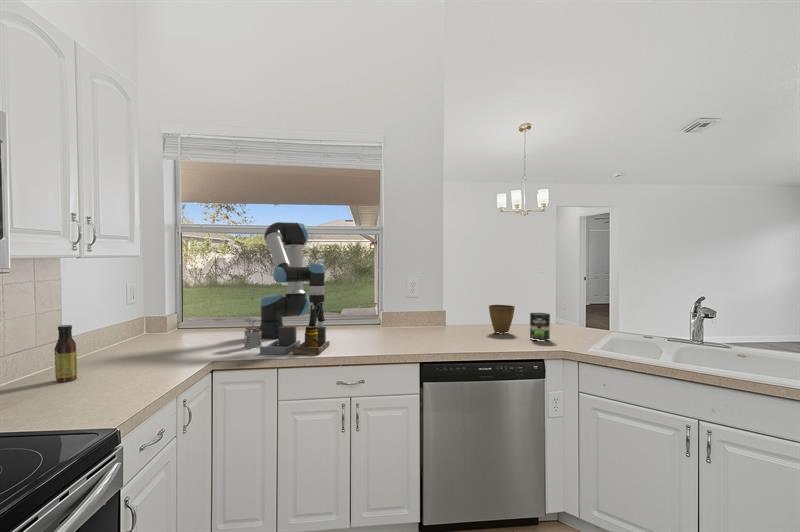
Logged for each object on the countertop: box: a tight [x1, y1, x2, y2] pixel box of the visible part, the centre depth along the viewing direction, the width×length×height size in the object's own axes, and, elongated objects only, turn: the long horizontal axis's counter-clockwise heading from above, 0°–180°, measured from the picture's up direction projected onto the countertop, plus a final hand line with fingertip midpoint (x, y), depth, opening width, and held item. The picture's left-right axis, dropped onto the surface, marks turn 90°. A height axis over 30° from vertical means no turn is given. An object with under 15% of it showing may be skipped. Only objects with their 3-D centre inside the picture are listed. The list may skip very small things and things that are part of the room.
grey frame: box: [259, 325, 301, 355], centre depth 208 cm, size 22×12×9 cm, turn 176°
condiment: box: [304, 325, 319, 347], centre depth 202 cm, size 7×8×12 cm
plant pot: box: [488, 304, 515, 333], centre depth 254 cm, size 15×15×16 cm
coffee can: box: [529, 312, 551, 340], centre depth 233 cm, size 10×10×14 cm
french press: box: [242, 296, 263, 350], centre depth 214 cm, size 10×12×25 cm
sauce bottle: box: [54, 324, 78, 383], centre depth 155 cm, size 7×6×20 cm
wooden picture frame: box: [291, 326, 331, 355], centre depth 207 cm, size 22×12×9 cm, turn 176°
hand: (317, 336), depth 216 cm, fingers open, 13 cm apart
